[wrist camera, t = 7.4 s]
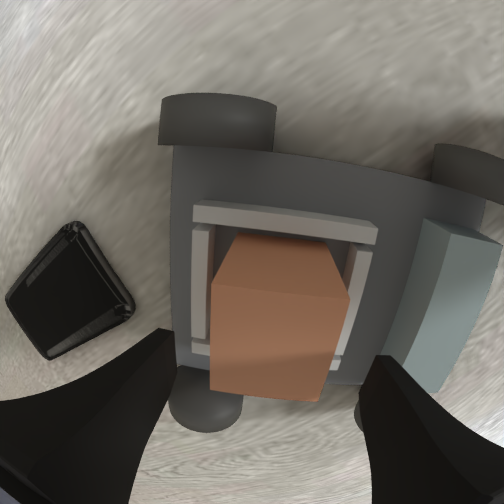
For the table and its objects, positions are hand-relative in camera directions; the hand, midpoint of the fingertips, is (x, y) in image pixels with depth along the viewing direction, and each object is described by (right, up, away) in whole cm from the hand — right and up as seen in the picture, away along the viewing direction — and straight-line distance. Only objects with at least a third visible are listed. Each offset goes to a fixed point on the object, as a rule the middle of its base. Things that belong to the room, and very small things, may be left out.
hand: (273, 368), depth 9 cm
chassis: (+4, +2, +7) cm, 8 cm away
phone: (-17, 0, +10) cm, 20 cm away
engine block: (+1, +2, +6) cm, 7 cm away
